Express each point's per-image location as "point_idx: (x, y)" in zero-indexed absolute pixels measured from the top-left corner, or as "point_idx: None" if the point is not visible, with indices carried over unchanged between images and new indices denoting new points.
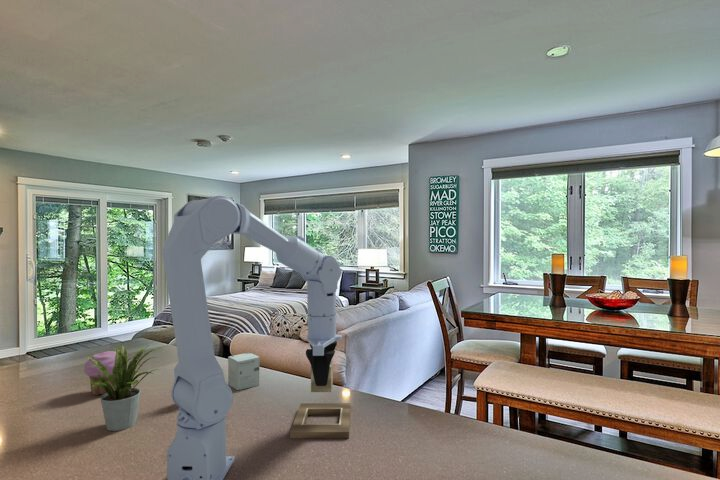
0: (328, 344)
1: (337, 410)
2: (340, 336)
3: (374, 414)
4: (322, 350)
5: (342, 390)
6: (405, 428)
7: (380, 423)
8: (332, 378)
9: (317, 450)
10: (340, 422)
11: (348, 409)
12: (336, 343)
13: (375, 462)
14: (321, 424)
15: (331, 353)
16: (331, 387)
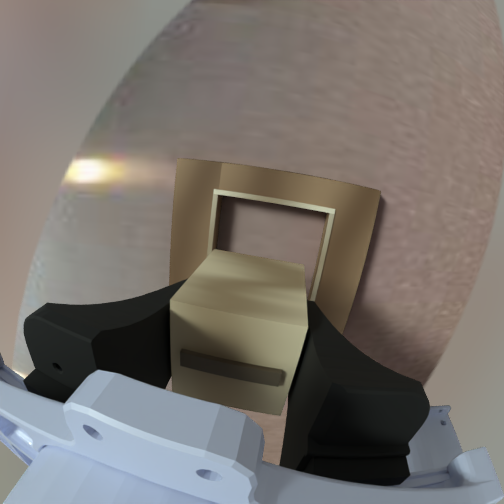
0: (425, 492)
1: (218, 205)
2: (214, 468)
3: (236, 89)
4: (492, 473)
5: (71, 181)
6: (340, 30)
7: (301, 82)
8: (214, 261)
9: (409, 274)
10: (322, 207)
11: (225, 169)
12: (93, 340)
13: (477, 155)
14: (321, 265)
15: (425, 411)
16: (285, 266)
